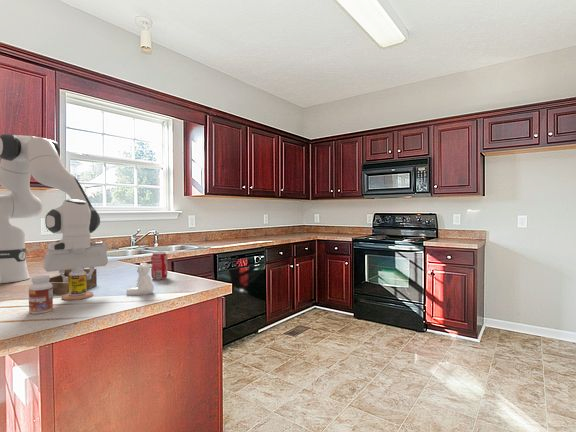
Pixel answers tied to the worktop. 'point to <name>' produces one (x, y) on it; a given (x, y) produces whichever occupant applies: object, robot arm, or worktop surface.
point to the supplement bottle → (77, 282)
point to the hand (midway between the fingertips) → (77, 280)
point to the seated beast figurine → (142, 281)
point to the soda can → (159, 265)
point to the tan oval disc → (69, 297)
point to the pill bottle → (40, 295)
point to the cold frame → (64, 286)
